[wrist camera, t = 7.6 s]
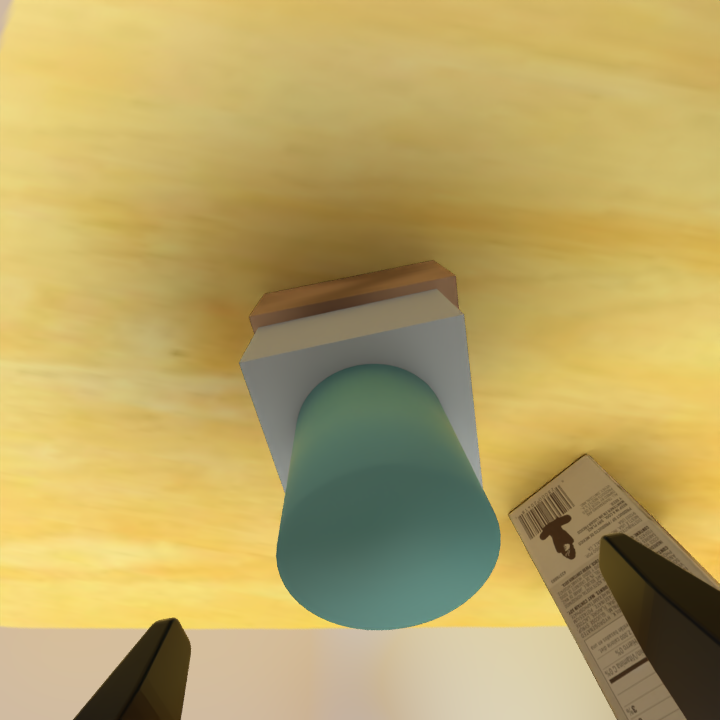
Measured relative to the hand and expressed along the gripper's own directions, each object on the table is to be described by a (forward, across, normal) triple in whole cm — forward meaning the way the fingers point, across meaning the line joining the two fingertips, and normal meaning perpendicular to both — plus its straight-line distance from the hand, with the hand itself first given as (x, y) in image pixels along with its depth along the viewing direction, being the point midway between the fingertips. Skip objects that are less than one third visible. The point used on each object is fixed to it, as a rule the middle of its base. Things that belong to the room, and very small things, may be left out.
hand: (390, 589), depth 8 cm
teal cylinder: (+6, 0, 0) cm, 6 cm away
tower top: (+9, 0, 0) cm, 9 cm away
